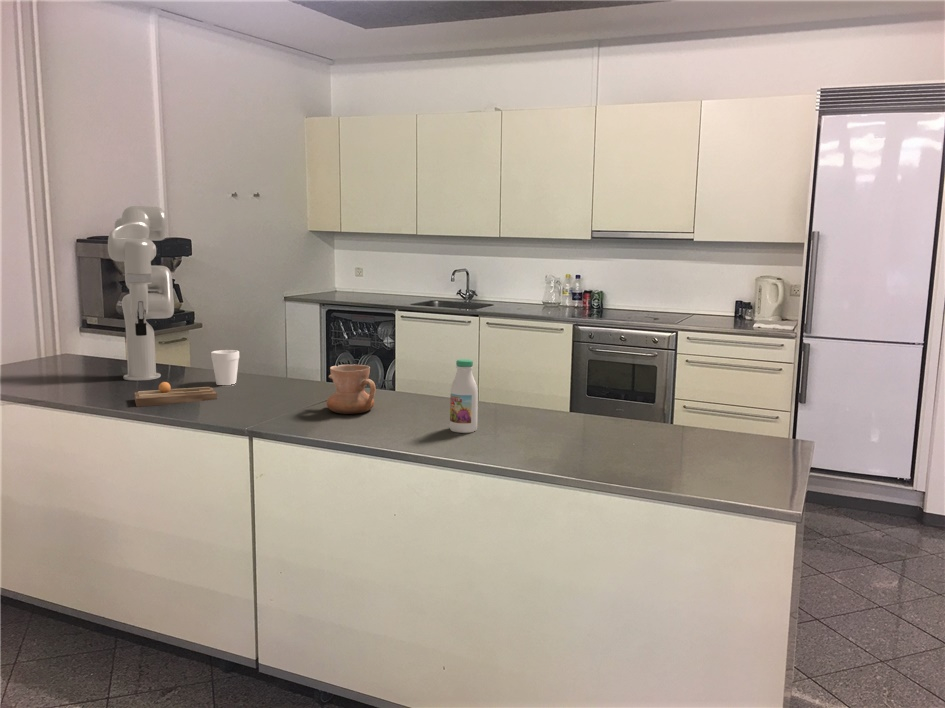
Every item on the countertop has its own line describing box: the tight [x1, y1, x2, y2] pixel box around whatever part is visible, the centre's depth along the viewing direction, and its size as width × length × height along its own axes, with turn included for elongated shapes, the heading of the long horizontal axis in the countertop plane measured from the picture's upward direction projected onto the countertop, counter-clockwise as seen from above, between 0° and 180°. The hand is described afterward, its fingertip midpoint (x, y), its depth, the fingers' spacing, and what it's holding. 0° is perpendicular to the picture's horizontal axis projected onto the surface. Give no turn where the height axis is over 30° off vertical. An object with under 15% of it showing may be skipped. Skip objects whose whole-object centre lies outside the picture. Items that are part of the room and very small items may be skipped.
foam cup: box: [210, 349, 240, 386], centre depth 260 cm, size 10×9×13 cm
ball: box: [158, 381, 172, 393], centre depth 237 cm, size 4×4×4 cm
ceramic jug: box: [326, 364, 376, 415], centre depth 223 cm, size 18×14×14 cm
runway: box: [134, 386, 218, 408], centre depth 237 cm, size 12×24×3 cm, turn 117°
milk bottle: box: [449, 358, 479, 434], centre depth 203 cm, size 8×8×20 cm
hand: (141, 335), depth 237 cm, fingers closed
